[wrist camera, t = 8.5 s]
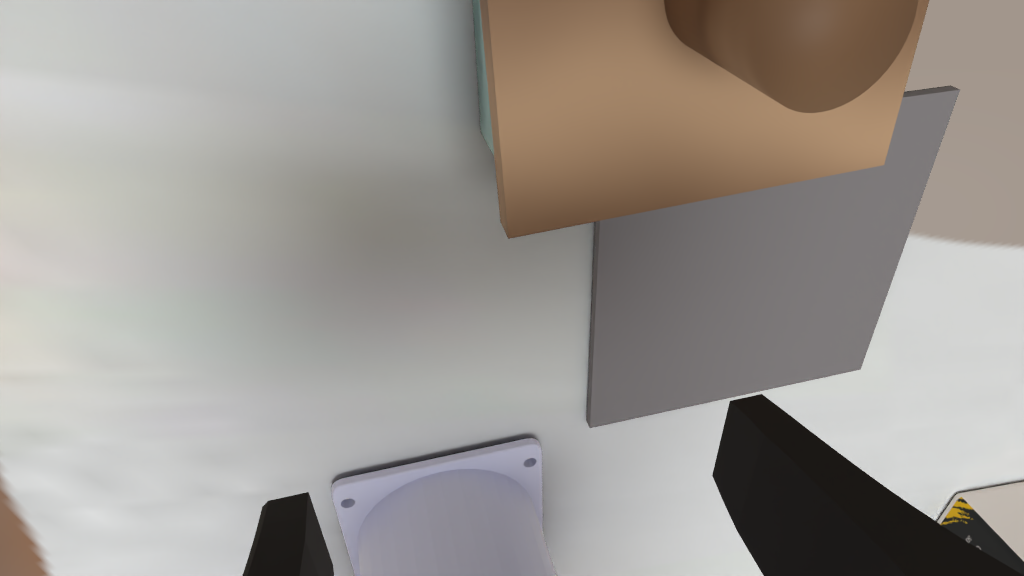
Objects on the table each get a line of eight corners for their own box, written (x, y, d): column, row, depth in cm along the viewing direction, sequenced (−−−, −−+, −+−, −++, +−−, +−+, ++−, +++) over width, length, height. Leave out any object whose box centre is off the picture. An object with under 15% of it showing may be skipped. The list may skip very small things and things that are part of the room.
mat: (854, 363, 29) (860, 369, 29) (586, 420, 27) (590, 427, 27) (950, 85, 22) (960, 89, 22) (599, 132, 20) (604, 138, 20)
